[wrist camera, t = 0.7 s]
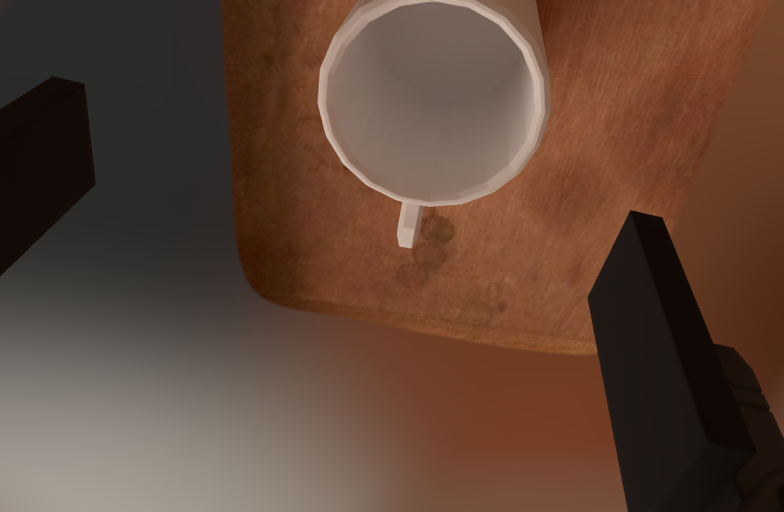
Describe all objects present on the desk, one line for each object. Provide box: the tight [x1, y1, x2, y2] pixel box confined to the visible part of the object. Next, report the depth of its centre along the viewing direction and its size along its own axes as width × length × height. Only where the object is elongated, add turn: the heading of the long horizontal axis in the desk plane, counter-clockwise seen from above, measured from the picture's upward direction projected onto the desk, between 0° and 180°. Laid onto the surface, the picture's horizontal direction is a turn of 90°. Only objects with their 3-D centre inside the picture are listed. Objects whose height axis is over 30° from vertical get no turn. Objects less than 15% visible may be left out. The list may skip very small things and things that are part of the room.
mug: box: [318, 0, 551, 248], centre depth 27 cm, size 8×12×10 cm
